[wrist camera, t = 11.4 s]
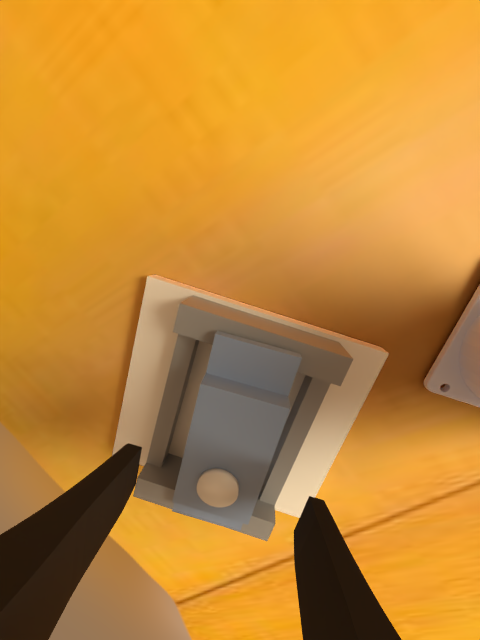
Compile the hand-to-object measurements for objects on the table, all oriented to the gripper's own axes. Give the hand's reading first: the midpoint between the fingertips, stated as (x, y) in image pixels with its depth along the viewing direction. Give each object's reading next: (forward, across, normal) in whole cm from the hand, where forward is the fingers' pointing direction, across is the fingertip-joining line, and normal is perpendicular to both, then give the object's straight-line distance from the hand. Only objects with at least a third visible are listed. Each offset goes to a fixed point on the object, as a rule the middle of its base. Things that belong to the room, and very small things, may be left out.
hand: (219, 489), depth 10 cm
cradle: (+6, 0, 0) cm, 6 cm away
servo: (+5, 0, 0) cm, 5 cm away
